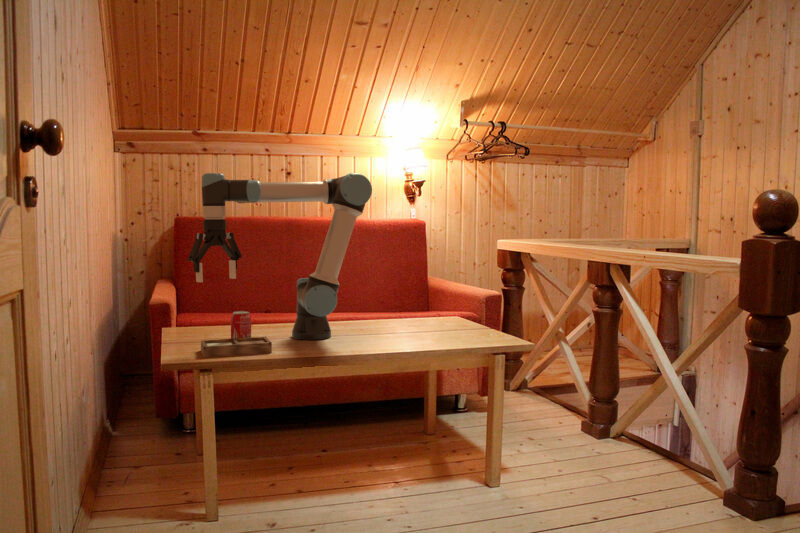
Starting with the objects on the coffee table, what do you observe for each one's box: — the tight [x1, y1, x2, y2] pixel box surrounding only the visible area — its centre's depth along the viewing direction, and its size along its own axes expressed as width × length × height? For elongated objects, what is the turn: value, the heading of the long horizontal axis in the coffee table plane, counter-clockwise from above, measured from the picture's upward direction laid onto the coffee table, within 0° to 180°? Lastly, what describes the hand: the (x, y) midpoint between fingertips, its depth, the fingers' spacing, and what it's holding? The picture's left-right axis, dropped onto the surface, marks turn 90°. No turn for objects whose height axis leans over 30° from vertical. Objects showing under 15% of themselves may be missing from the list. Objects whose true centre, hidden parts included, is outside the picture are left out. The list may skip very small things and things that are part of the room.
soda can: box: [230, 310, 252, 339], centre depth 203 cm, size 7×7×12 cm
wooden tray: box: [200, 336, 273, 358], centre depth 193 cm, size 22×11×4 cm, turn 113°
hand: (216, 280), depth 196 cm, fingers open, 13 cm apart
